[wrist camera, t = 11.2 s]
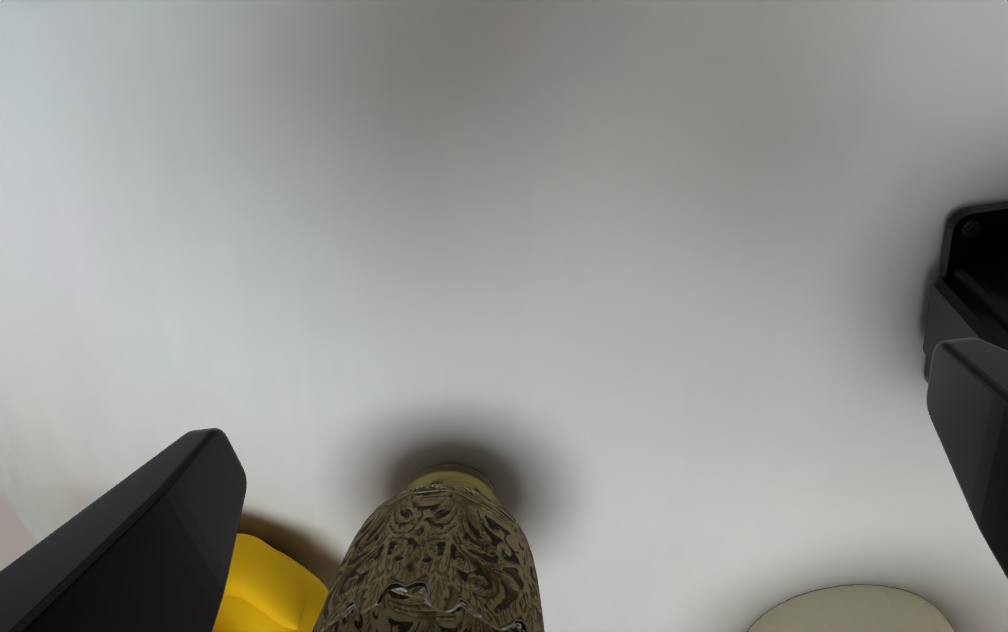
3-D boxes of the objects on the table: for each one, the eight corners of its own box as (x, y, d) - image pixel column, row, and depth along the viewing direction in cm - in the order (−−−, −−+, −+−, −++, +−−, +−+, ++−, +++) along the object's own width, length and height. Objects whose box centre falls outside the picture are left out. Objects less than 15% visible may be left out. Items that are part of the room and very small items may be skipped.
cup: (377, 557, 31) (329, 756, 24) (337, 422, 27) (267, 614, 20) (555, 551, 30) (558, 755, 23) (542, 412, 26) (540, 608, 19)
